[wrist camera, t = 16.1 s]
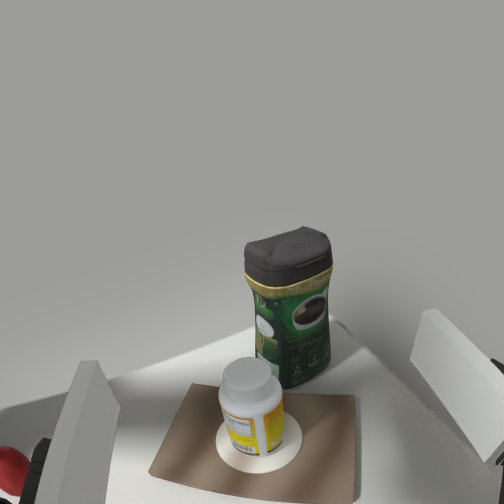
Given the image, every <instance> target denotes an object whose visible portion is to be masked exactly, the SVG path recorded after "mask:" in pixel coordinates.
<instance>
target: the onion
mask: <svg viewBox="0 0 504 504" xmlns="http://www.w3.org/2000/svg"><path fill="white" fill-rule="evenodd" d="M29 465H30V461H29V459H28V458H27V457H26V456H25V455H24V454H22V453H21V452H19V451H18V450H16V449H14V448H11V447H4V446H0V489H2V490H3V491H5V492H6V493H8V494H9V495H13V496H18V497H21V493H22V489H23V486H24V482H25V478H26V475H27V472H29V470H28V468H29Z"/></svg>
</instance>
